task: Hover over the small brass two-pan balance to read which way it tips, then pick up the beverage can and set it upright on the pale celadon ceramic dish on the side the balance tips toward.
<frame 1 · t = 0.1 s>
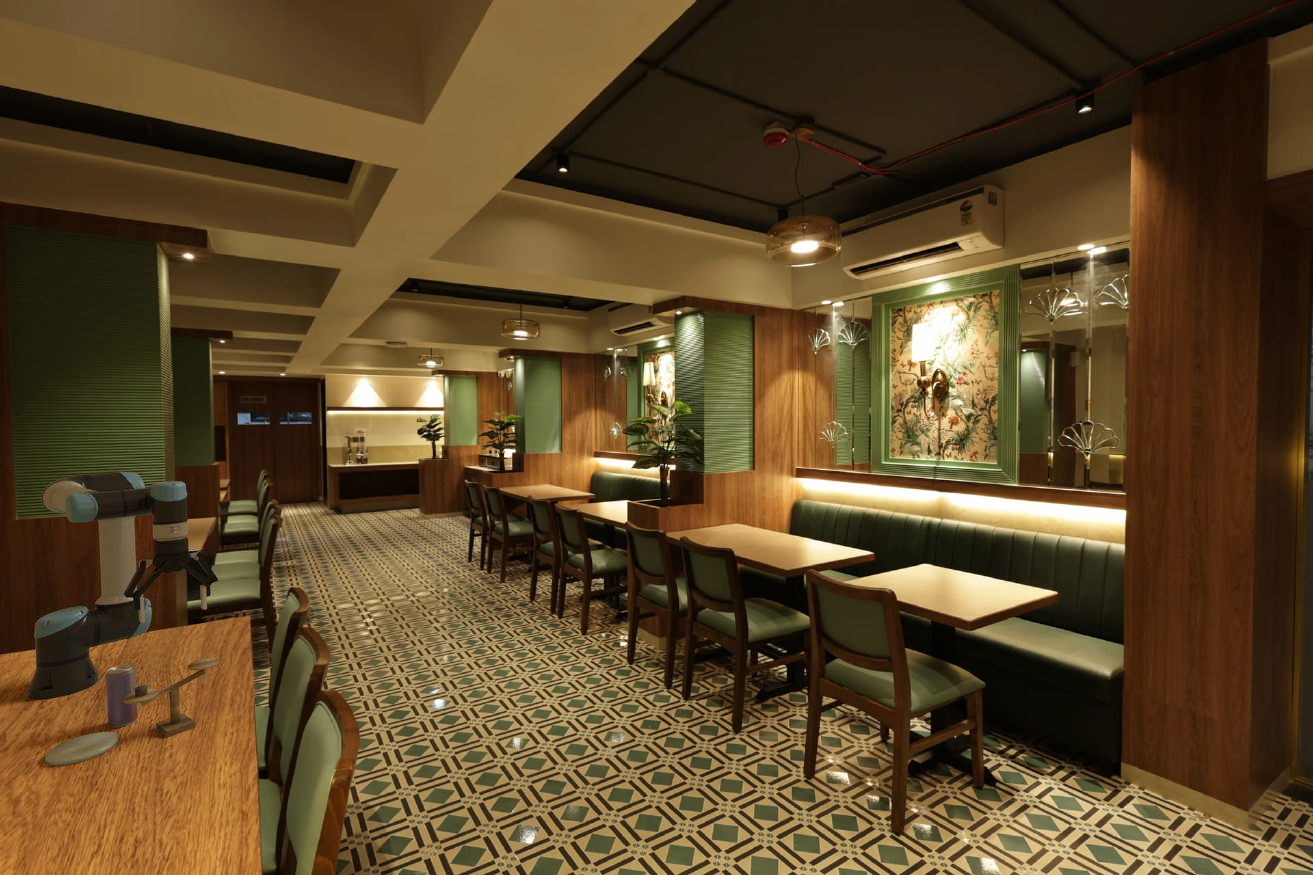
hand: (174, 614, 167), 28 cm above the table, fingers open, 13 cm apart
balance: (175, 727, 160), on the table
beverage can: (123, 723, 163), on the table
dish: (82, 750, 150), on the table
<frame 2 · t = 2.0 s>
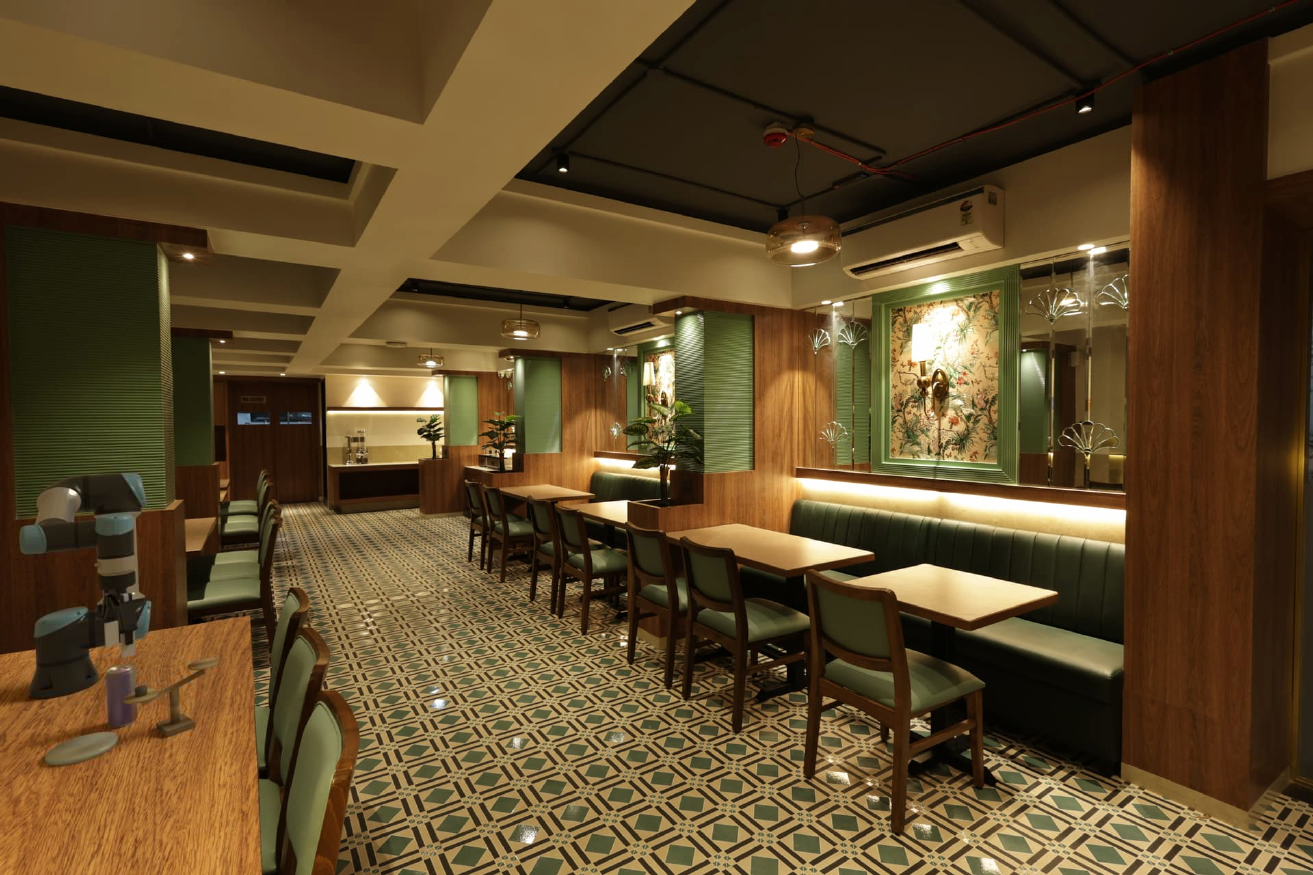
hand: (120, 651, 162), 20 cm above the table, fingers open, 13 cm apart
nothing on the table moved.
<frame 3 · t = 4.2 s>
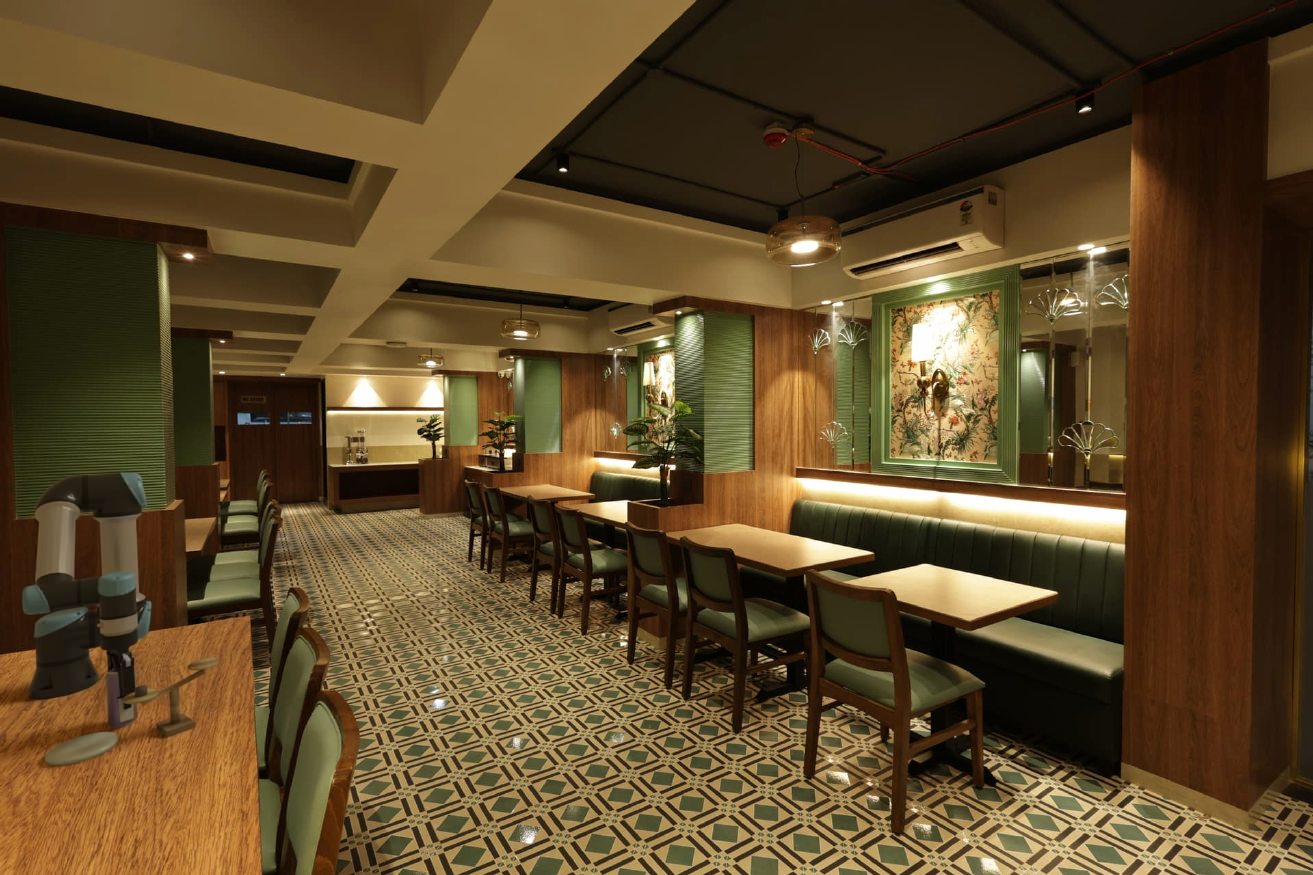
hand: (122, 716, 163), 2 cm above the table, fingers closed on beverage can, 6 cm apart
beverage can: (123, 723, 163), on the table, touching gripper
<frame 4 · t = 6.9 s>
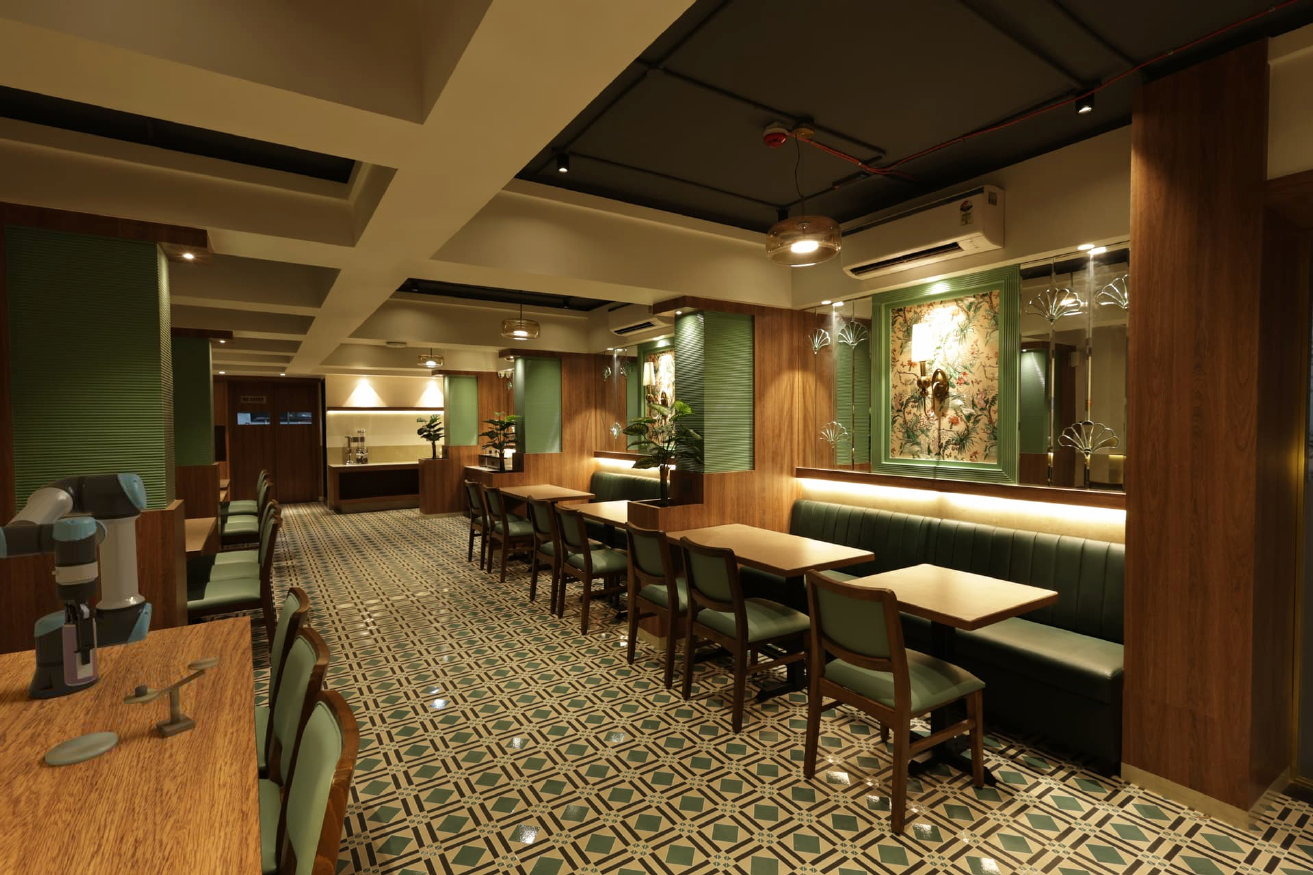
hand: (81, 673, 150), 19 cm above the table, fingers closed on beverage can, 6 cm apart
beverage can: (81, 681, 150), point 17 cm above the table, touching gripper
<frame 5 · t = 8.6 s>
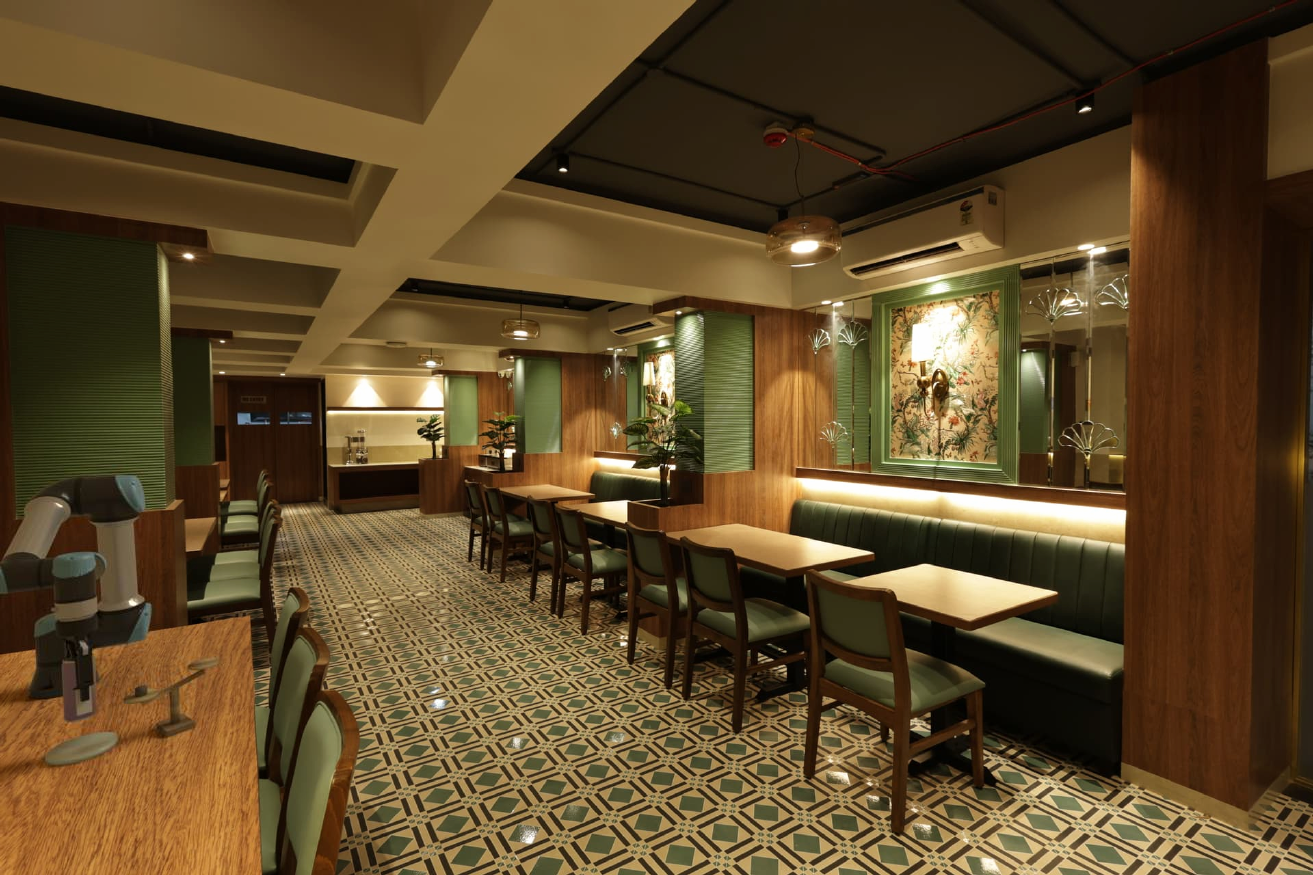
hand: (80, 709, 149), 10 cm above the table, fingers closed on beverage can, 6 cm apart
beverage can: (80, 717, 149), point 8 cm above the table, touching gripper
when the fingers open (5 cm above the table, at t = 10.0 s): beverage can drops 2 cm, resting on dish.
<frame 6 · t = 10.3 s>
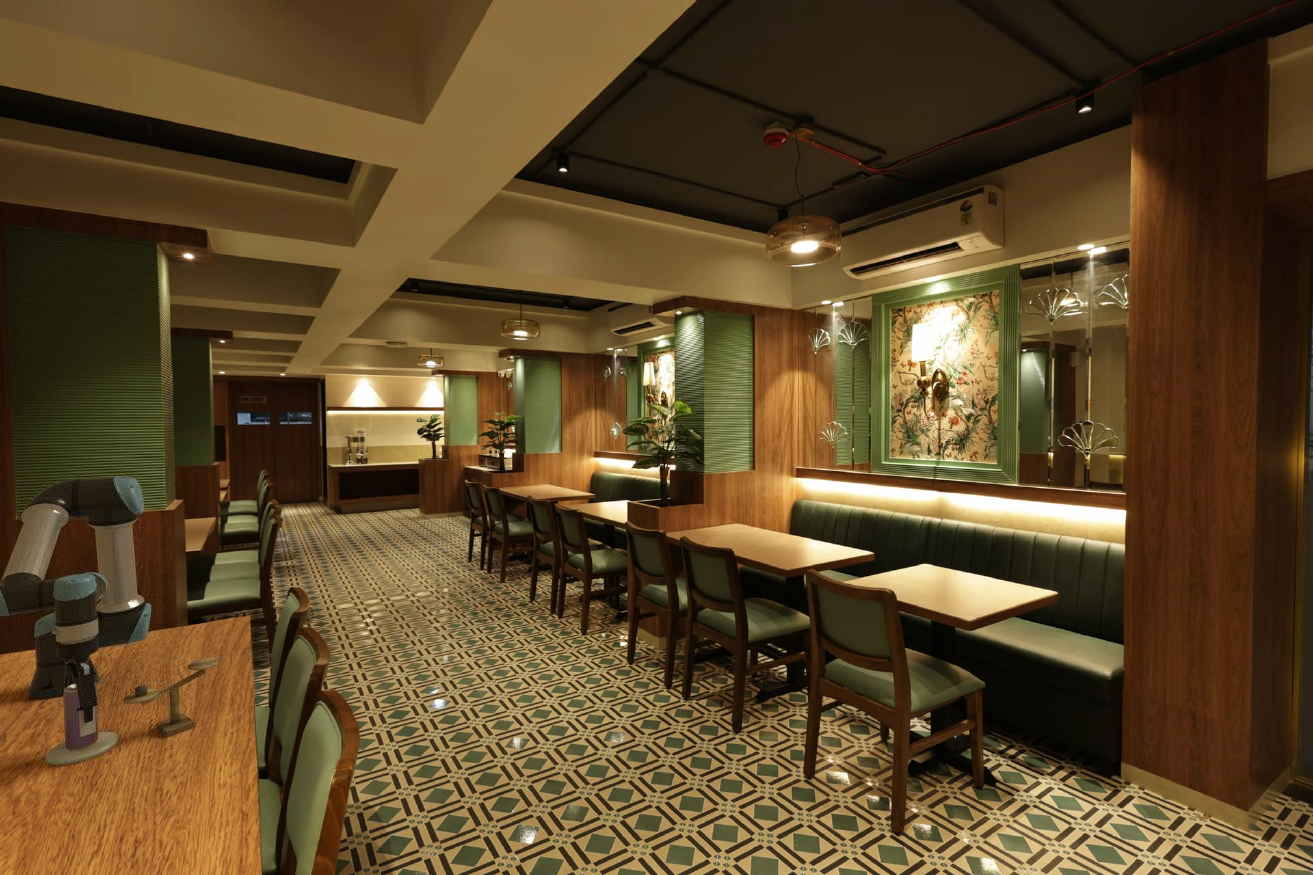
hand: (81, 727, 150), 6 cm above the table, fingers open, 10 cm apart
beverage can: (82, 746, 150), point 1 cm above the table, touching dish
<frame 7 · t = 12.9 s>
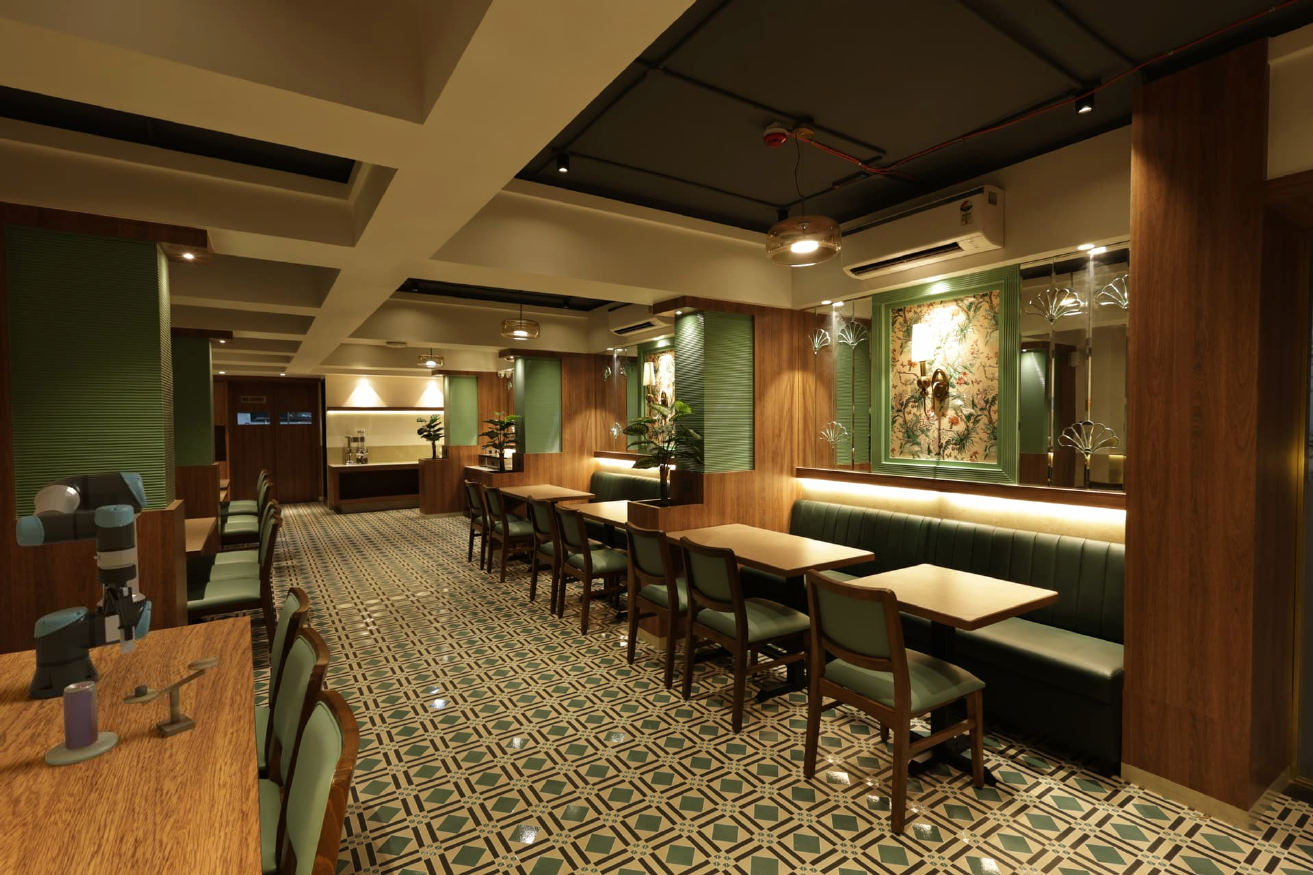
hand: (120, 646, 157), 23 cm above the table, fingers open, 13 cm apart
nothing on the table moved.
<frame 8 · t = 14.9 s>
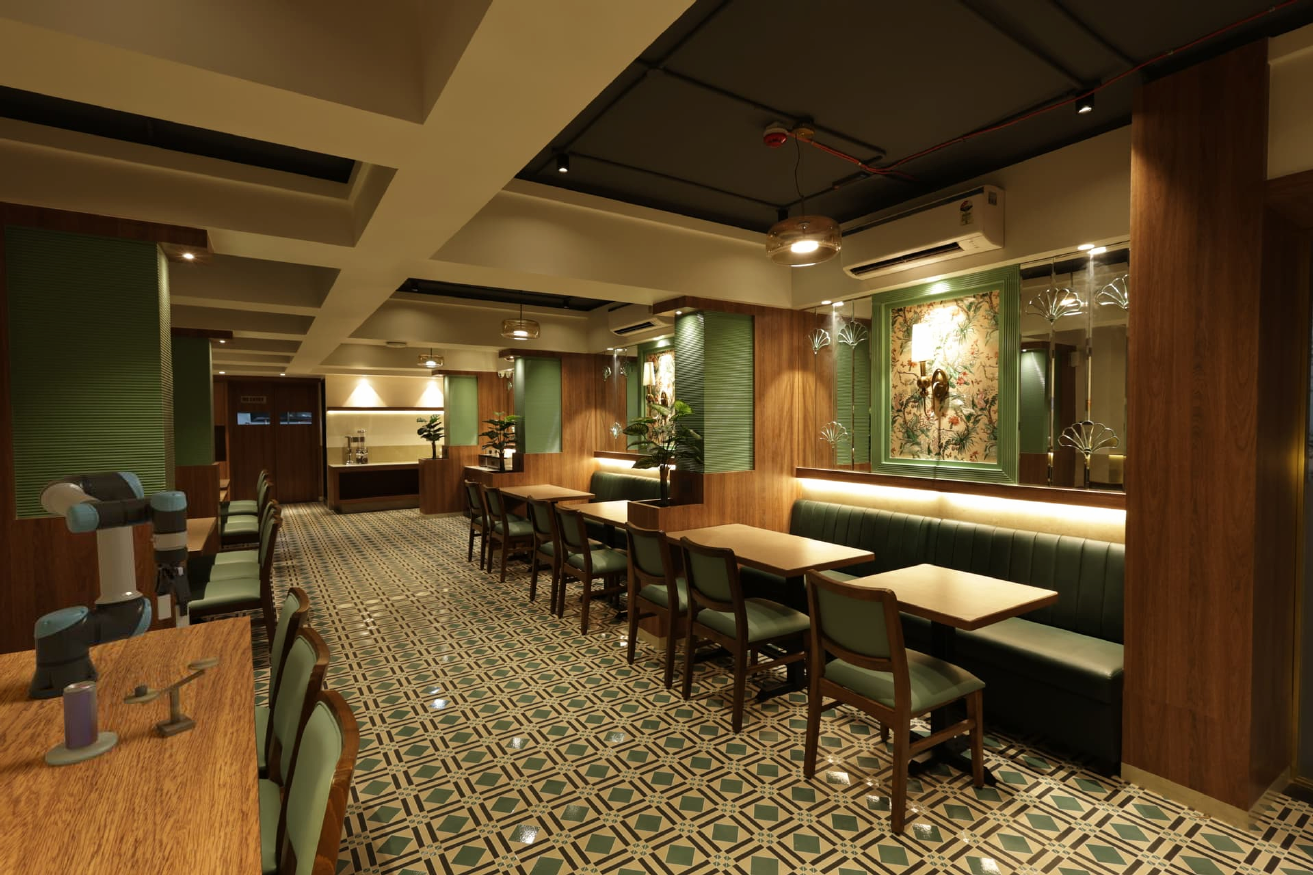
hand: (173, 622, 169), 25 cm above the table, fingers open, 13 cm apart
nothing on the table moved.
at the end: beverage can 0.1 cm from the dish (horizontally); beverage can tilted 0°; beverage can touching dish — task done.
